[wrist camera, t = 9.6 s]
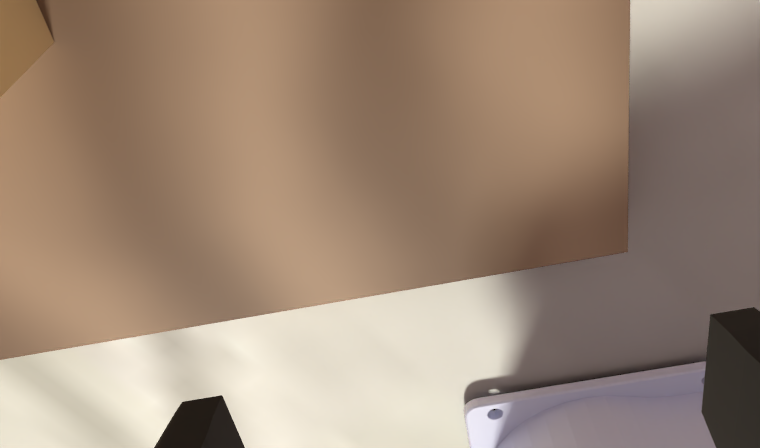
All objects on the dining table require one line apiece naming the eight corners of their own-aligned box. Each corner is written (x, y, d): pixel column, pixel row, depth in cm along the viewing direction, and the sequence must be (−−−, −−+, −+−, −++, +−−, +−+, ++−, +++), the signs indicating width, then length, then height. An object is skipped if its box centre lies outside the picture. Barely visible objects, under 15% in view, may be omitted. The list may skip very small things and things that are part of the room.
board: (604, -583, 12) (635, -622, 11) (610, 221, 21) (627, 251, 19) (-608, -289, 13) (-707, -293, 12) (-119, 348, 22) (-147, 384, 21)
